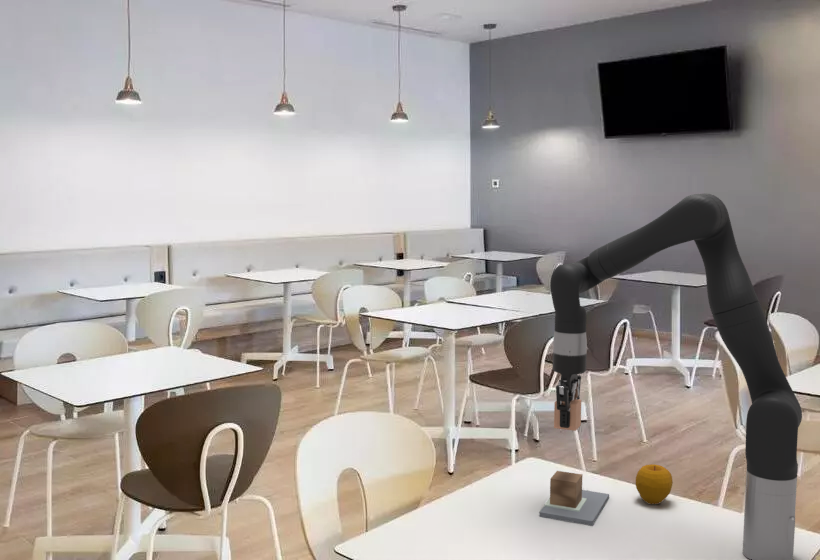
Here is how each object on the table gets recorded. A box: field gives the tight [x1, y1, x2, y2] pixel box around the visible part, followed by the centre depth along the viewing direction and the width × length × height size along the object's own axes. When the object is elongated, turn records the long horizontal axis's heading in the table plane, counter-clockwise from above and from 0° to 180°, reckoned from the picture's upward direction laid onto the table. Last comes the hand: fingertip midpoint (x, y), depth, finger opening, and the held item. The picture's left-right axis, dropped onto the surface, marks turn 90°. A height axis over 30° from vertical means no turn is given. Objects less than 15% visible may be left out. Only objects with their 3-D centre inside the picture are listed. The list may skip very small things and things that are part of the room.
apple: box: [635, 463, 674, 505], centre depth 191 cm, size 8×8×9 cm
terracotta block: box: [553, 399, 582, 432], centre depth 185 cm, size 5×5×6 cm
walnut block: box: [549, 470, 583, 508], centre depth 187 cm, size 6×6×6 cm
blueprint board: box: [538, 489, 610, 527], centre depth 188 cm, size 12×18×1 cm, turn 155°
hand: (567, 423), depth 186 cm, fingers closed on terracotta block, 5 cm apart
